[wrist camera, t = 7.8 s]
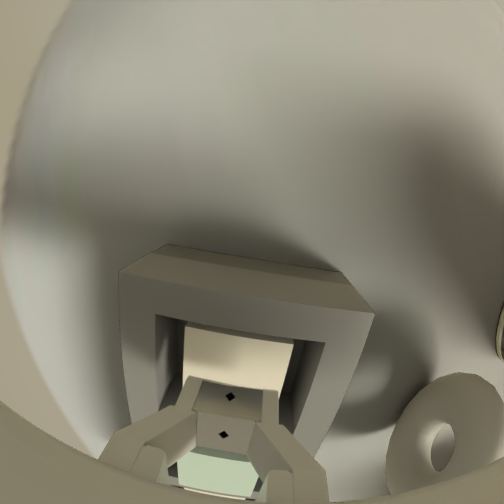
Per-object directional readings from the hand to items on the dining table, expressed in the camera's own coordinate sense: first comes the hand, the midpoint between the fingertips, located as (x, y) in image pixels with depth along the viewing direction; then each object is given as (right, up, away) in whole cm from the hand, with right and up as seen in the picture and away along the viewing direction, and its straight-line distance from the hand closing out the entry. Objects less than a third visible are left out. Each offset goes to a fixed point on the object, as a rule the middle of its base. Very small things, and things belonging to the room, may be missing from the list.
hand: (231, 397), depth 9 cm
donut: (+12, -6, +7) cm, 15 cm away
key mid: (-1, -6, +4) cm, 7 cm away
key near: (0, 0, +4) cm, 4 cm away
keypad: (-1, -5, +7) cm, 9 cm away
